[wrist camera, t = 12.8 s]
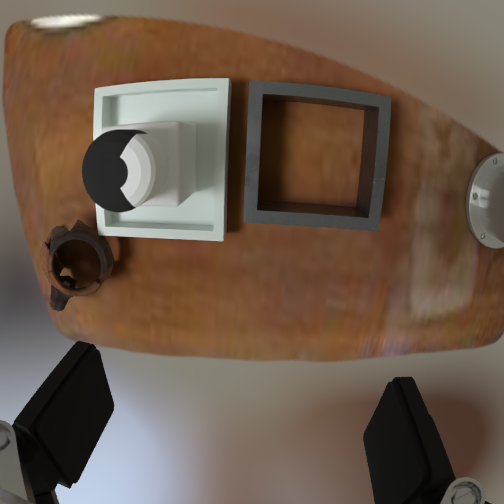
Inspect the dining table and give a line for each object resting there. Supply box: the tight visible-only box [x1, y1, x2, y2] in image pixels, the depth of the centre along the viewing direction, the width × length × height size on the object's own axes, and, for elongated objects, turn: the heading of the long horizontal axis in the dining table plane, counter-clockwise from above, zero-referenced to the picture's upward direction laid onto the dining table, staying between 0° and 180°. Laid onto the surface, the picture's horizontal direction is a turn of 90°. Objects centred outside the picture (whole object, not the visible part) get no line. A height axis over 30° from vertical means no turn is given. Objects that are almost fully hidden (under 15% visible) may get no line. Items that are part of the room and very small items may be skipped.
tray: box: [93, 78, 232, 241], centre depth 31 cm, size 14×16×3 cm
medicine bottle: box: [82, 121, 196, 212], centre depth 25 cm, size 7×7×12 cm
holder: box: [243, 80, 391, 231], centre depth 29 cm, size 13×13×4 cm
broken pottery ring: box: [41, 220, 114, 311], centre depth 34 cm, size 12×10×8 cm
